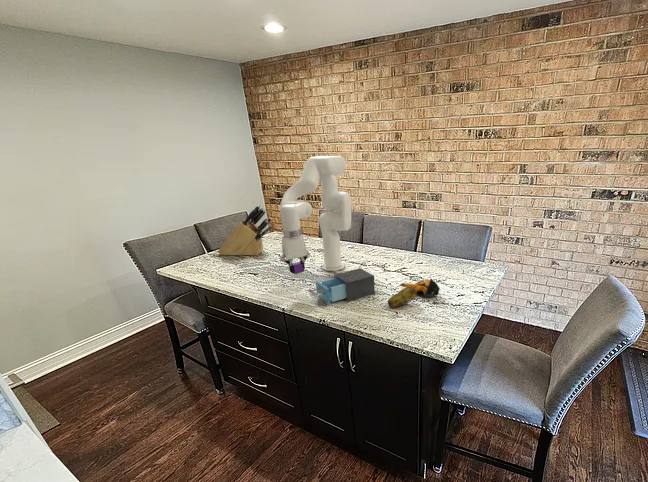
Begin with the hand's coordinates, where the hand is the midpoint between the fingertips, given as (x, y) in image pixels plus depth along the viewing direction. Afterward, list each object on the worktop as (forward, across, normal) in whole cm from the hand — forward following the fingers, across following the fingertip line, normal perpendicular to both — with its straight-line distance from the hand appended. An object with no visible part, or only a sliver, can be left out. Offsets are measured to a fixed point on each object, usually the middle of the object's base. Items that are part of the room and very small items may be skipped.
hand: (297, 271), depth 156 cm
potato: (+12, -32, +38) cm, 51 cm away
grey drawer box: (+12, -22, +14) cm, 28 cm away
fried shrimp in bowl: (+12, -46, +34) cm, 58 cm away
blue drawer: (+11, -9, +14) cm, 20 cm away
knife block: (+13, +3, -82) cm, 84 cm away
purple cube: (0, 0, 0) cm, 0 cm away
